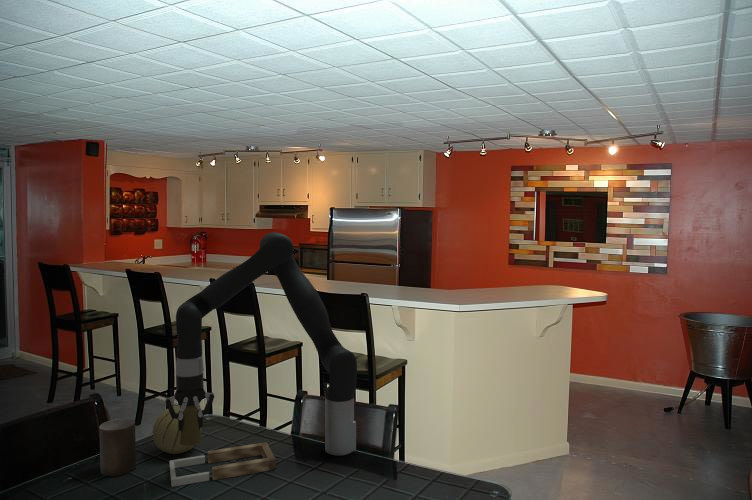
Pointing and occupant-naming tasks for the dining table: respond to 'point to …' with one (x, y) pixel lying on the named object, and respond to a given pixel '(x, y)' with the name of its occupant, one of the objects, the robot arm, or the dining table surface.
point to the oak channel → (241, 467)
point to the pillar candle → (117, 447)
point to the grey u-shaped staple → (188, 478)
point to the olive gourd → (190, 426)
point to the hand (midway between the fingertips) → (190, 429)
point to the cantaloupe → (169, 433)
